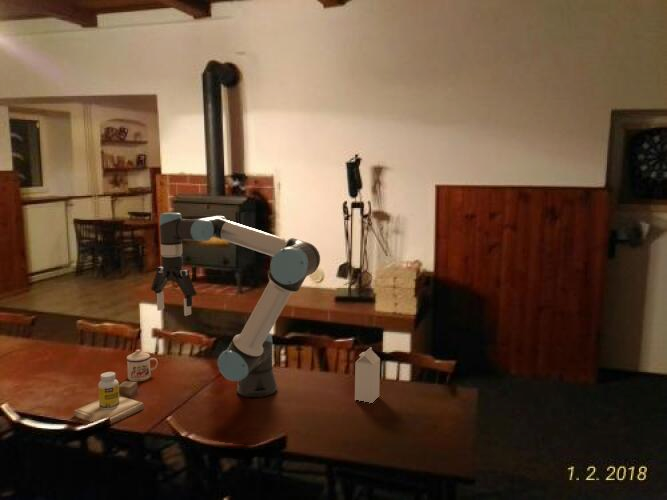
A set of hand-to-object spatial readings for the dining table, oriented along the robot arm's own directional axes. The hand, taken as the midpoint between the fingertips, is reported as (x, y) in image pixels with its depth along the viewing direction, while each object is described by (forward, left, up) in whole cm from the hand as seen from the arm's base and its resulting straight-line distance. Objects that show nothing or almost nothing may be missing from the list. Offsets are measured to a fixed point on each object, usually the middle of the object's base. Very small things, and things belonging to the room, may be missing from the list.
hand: (174, 312), depth 198 cm
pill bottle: (+9, +23, -30) cm, 39 cm away
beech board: (+9, +23, -32) cm, 40 cm away
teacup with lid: (+24, -5, -32) cm, 40 cm away
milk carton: (-64, -32, -32) cm, 78 cm away
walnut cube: (+14, +11, -32) cm, 36 cm away
